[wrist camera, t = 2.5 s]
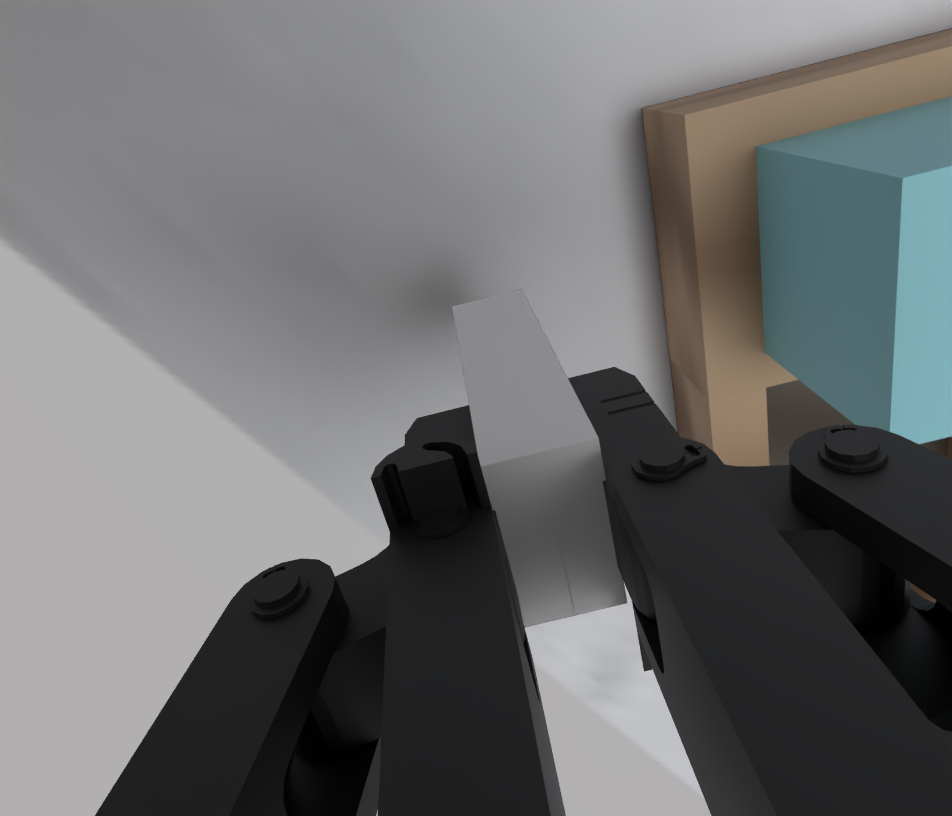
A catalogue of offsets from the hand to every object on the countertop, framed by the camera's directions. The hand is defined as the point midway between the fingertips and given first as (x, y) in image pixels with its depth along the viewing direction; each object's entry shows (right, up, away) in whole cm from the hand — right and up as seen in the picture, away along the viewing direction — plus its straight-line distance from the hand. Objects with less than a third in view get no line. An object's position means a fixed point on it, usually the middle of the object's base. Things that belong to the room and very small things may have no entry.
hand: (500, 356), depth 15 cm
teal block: (+9, +3, +1) cm, 9 cm away
